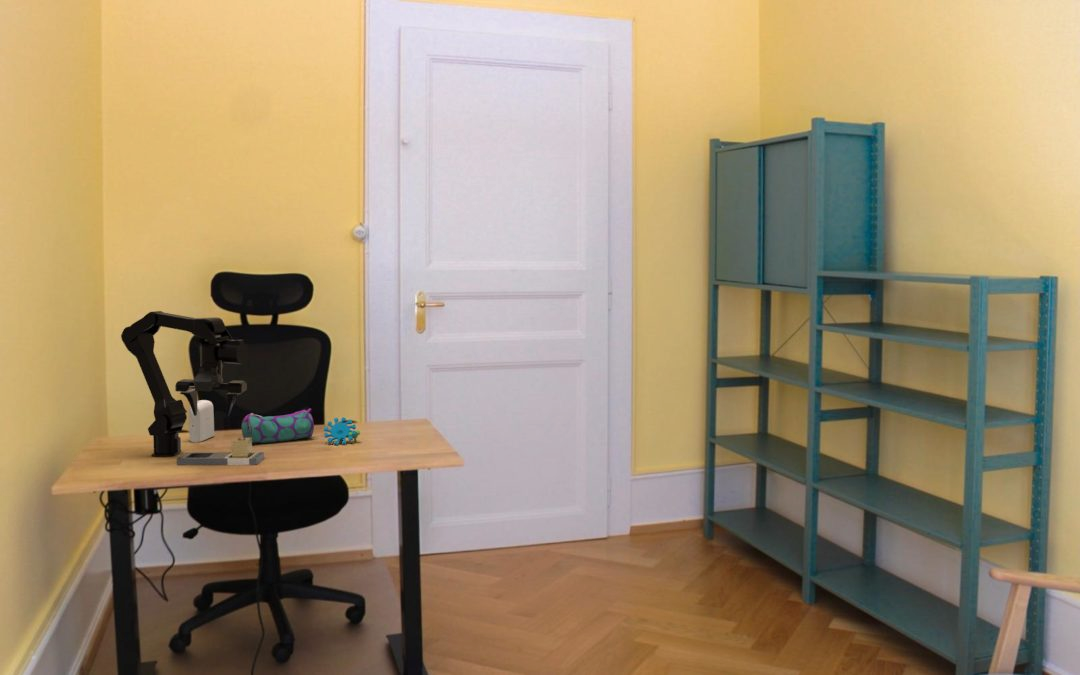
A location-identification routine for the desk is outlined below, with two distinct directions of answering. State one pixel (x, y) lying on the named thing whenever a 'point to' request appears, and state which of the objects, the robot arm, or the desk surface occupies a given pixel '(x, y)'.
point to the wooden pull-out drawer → (241, 447)
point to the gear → (341, 431)
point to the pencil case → (278, 427)
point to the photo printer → (201, 422)
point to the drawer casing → (218, 458)
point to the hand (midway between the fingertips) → (211, 415)
